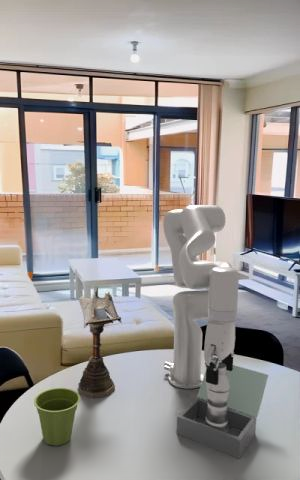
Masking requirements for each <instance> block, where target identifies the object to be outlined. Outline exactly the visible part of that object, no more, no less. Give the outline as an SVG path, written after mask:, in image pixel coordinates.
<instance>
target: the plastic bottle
mask: <svg viewBox="0 0 300 480" xmlns="http://www.w3.org/2000/svg"><path fill="white" fill-rule="evenodd" d="M213 364H214V365H215V363H213ZM217 370H219V372H218V384H217V385H214V384H210V383H207V382H206V386H207V400H208V406H207V414H206V418H204V423H203V424H205V425H207V426H210V427H213V428H215V429H218V430H220V431H223V432H226V433H228V432H229V431H228V430H229V428H230V427H229V426H228V419H227V404H228V396H229V391H230V381H229V379H228V378H227V376H226V375H225V374H226V365H225V364H223V363H219V365H218V368H217Z"/></svg>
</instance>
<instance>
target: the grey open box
mask: <svg viewBox="0 0 300 480" xmlns="http://www.w3.org/2000/svg"><path fill="white" fill-rule="evenodd" d="M207 406H208V401H206V400H203V399H200V398H198V397H196V398H195V399H194V400H193V401H191V403H190V404H189V405H188V406H186V408H184V410H182V411H181V412H180V413H179V414H178V415H177V417H176V434H177V435H180V436H182V437H185V438H188V439H190V440H192V441H194V442H197V443H200V444H201V445H205V446H207V447H209V448H212V449H215V450H216V451H219V452H222V453H224V454H226V455H229V456H231V457H234V458H236V459H240V458H241V457H242V455H243V454H244V452H245V451H246V449H247V448H248V446H249V445H250V443H251V442H252V440H253V439H254V437H255V436H256V429H257V426H256V425H257V418H256V417H253V416H250V415H247V414H244V413H241V412H238V411H235V410H232V409H230V408H227V419H228V426H229V428H230V429H233V430H235V431H238V432H240V433H239V434H238V436H236V435H233V434H231V433H228V432H227V433H226V432H223V431H220V430H218V429H215V428H213V427H210V426H207V425H205V424H204V423H201V422H198V421H196V419H197V418H198V417H200V418H203V419H205V418H206V414H207Z"/></svg>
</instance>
